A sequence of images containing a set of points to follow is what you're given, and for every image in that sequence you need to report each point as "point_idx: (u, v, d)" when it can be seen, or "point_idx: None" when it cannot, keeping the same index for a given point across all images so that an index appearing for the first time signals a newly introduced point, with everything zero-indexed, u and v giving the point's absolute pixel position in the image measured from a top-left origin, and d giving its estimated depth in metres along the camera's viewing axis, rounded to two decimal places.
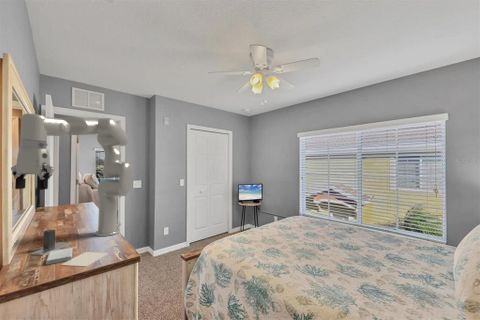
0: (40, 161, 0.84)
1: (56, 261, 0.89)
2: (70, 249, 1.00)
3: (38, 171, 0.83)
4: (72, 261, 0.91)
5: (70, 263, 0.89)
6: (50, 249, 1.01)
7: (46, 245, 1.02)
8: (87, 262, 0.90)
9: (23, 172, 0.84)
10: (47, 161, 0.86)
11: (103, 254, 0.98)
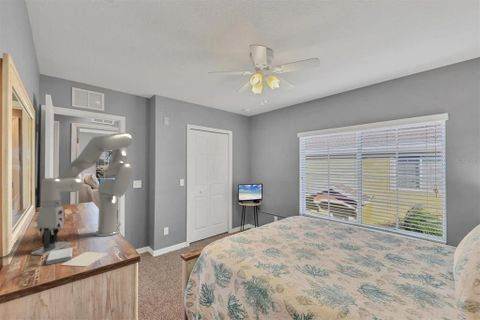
0: (57, 217, 1.02)
1: (56, 261, 0.89)
2: (70, 249, 1.00)
3: (55, 226, 1.02)
4: (72, 261, 0.91)
5: (70, 263, 0.89)
6: (50, 248, 1.01)
7: (47, 244, 1.02)
8: (87, 262, 0.90)
9: (43, 227, 1.02)
10: (62, 216, 1.05)
11: (103, 254, 0.98)
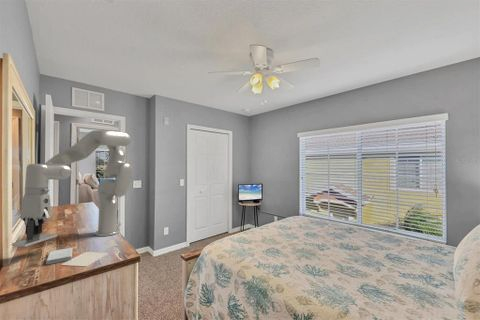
0: (42, 206, 0.94)
1: (56, 261, 0.89)
2: (70, 249, 1.00)
3: (40, 215, 0.94)
4: (72, 261, 0.91)
5: (70, 263, 0.89)
6: (34, 240, 0.93)
7: (30, 236, 0.94)
8: (87, 262, 0.90)
9: (26, 216, 0.94)
10: (48, 205, 0.97)
11: (103, 254, 0.98)
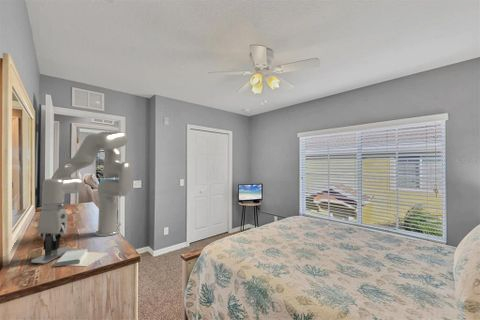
0: (59, 222, 0.94)
1: (64, 263, 0.87)
2: (84, 251, 0.98)
3: (57, 231, 0.93)
4: None
5: None
6: (52, 255, 0.93)
7: (48, 251, 0.94)
8: (87, 262, 0.90)
9: (44, 232, 0.94)
10: (65, 220, 0.96)
11: (103, 254, 0.98)
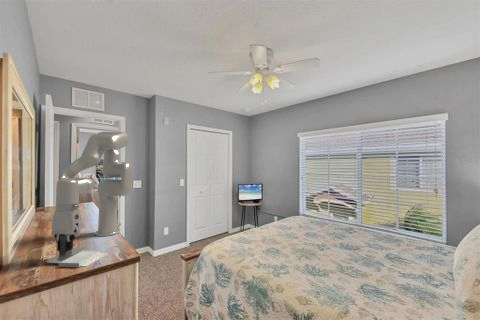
0: (73, 223, 0.93)
1: (66, 265, 0.86)
2: (94, 253, 0.95)
3: (71, 232, 0.93)
4: None
5: None
6: (67, 255, 0.92)
7: (63, 251, 0.93)
8: (87, 262, 0.90)
9: (58, 233, 0.93)
10: (79, 221, 0.96)
11: (103, 254, 0.98)
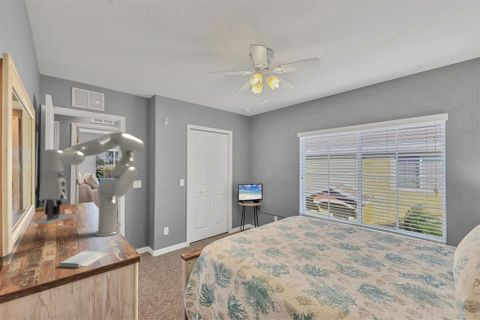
0: (60, 189, 1.02)
1: (66, 265, 0.86)
2: (94, 253, 0.95)
3: (58, 197, 1.01)
4: None
5: None
6: (54, 218, 1.01)
7: (50, 214, 1.02)
8: (87, 262, 0.90)
9: (45, 198, 1.01)
10: (65, 188, 1.04)
11: (103, 254, 0.98)
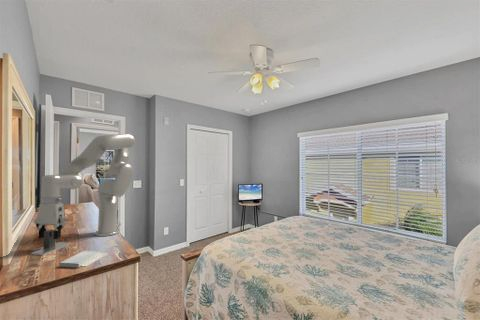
0: (57, 214, 1.02)
1: (66, 265, 0.86)
2: (94, 253, 0.95)
3: (55, 223, 1.02)
4: None
5: None
6: (50, 249, 1.01)
7: (47, 245, 1.02)
8: (87, 262, 0.90)
9: (43, 223, 1.02)
10: (62, 213, 1.05)
11: (103, 254, 0.98)
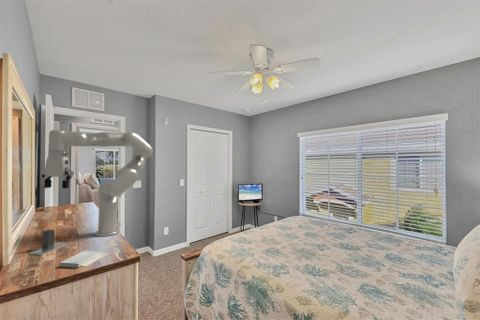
0: (63, 166, 1.09)
1: (66, 265, 0.86)
2: (94, 253, 0.95)
3: (62, 174, 1.09)
4: None
5: None
6: (49, 249, 1.01)
7: (45, 245, 1.02)
8: (87, 262, 0.90)
9: (50, 175, 1.09)
10: (68, 166, 1.12)
11: (103, 254, 0.98)
